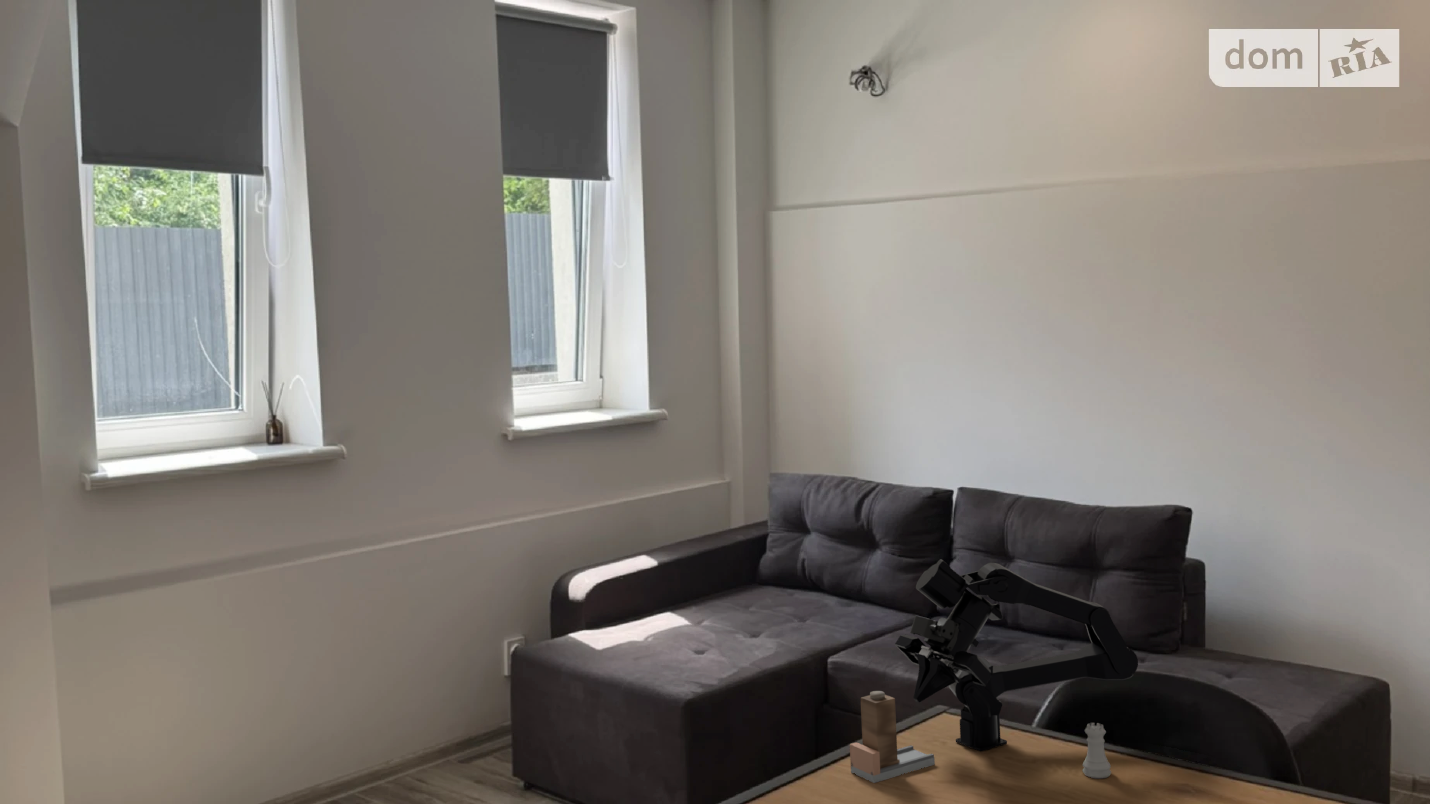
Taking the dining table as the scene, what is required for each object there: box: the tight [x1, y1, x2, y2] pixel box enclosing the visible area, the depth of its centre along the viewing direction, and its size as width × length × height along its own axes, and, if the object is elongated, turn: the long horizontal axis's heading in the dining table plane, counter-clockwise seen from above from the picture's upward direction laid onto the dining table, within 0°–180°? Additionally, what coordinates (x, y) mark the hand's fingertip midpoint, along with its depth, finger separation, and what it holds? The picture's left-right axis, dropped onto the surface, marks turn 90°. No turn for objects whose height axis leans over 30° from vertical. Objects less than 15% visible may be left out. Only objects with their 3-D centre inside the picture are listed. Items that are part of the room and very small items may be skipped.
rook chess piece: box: [1082, 722, 1112, 780], centre depth 191 cm, size 4×4×8 cm
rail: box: [849, 742, 936, 784], centre depth 198 cm, size 13×6×5 cm, turn 121°
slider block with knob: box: [860, 690, 900, 769], centre depth 196 cm, size 5×4×12 cm
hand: (916, 700), depth 200 cm, fingers closed
